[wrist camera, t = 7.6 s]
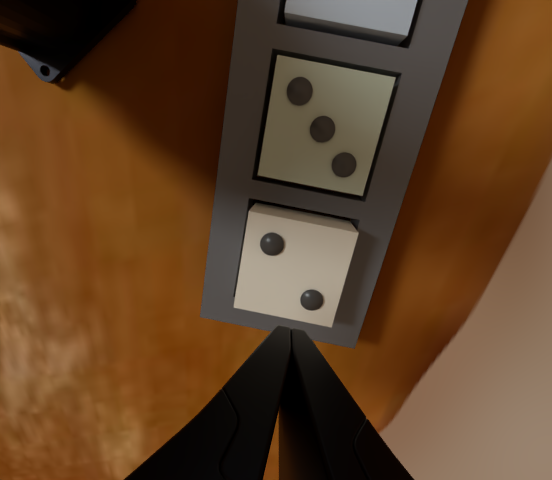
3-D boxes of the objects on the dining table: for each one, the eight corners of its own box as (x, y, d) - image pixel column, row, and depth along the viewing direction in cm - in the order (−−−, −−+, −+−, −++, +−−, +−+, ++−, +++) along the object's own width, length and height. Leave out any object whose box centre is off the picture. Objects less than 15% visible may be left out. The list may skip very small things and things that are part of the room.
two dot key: (327, 304, 16) (331, 328, 14) (241, 286, 16) (232, 308, 14) (349, 220, 15) (359, 233, 13) (255, 202, 15) (248, 211, 13)
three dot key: (353, 189, 16) (363, 196, 13) (263, 171, 16) (257, 175, 13) (380, 89, 14) (396, 76, 12) (280, 69, 14) (277, 53, 12)
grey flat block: (348, 327, 18) (354, 348, 16) (210, 299, 18) (200, 316, 16) (491, -134, 11) (530, -190, 10) (271, -173, 12) (266, -237, 10)
